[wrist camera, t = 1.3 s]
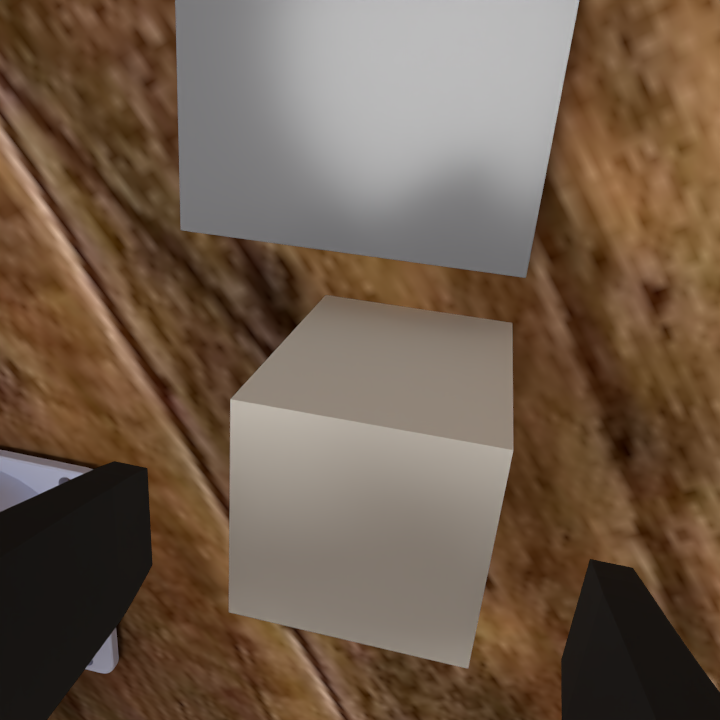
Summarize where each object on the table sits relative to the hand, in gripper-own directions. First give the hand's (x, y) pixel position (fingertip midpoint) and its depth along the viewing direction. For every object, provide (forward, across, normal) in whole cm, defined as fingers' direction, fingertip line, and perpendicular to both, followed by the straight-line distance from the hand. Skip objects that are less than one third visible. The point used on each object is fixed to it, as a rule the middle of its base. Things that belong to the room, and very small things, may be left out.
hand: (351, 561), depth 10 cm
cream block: (+7, 0, 0) cm, 7 cm away
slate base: (+6, +2, -7) cm, 10 cm away
